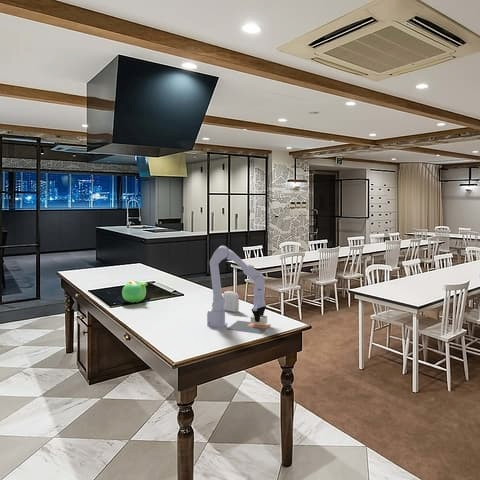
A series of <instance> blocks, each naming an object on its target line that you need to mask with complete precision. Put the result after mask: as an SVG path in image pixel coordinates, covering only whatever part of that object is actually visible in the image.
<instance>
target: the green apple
mask: <svg viewBox="0 0 480 480" xmlns="http://www.w3.org/2000/svg"><path fill="white" fill-rule="evenodd" d="M146 286H148V282H147V281H144V282H140V281H137V280H136V281H135V280H129V281H128V282H127V283H126V284H125V285H124V286H123V288H122V290H121V295H122V298H123V299H124V300H125V301H126V302H128V303H133V304H135V302H136V303H139V302H142V301H143V300H144V299H145V297H146V295H147V288H146Z"/></svg>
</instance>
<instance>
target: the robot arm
mask: <svg viewBox="0 0 480 480" xmlns="http://www.w3.org/2000/svg"><path fill="white" fill-rule="evenodd" d="M224 259H226V260H228V261H229V260H230V261H232V262H234V263H235V264H236V265H237V266H239V267H240V268H241V269H242V273H243V274H244V275H245V276H247V277H248V279H250V280H251V281H253V283H254V287H253V306H252V308H251V312H252V315H254V318H255V322H259V321H260V315H262V316H265V315H264V314H265V311H266V308H267V303H266V301H265V283H266V280H265V276H264V274H262V273H261V271H258V270H257V269H256V268H255V265H251V264H247V263H246V262H244V260H242V258H240V257H239V256H238V254H236V253H235V252H234V251H233V250H231V249H230V248H228V246H226V245H220V246H219V247H217V248H216V249H215V251H214V252H213V254H212V256H211V258H210V260H209V270H210V278H211V287H212V304H211V308H209V309H208V310H207V313H206V315H207V316H206V318H207V319H206V321H207V322H206V327H214V328H220V329H222V328H224V327H225V326H227V325H228V323H227V322H226V310H225V308H224V303H225V300H224V298H223V292H222V283H221V277H220V275H221V274H220V268H219V267H220V266H219V265H220V263H221V261H223V260H224Z"/></svg>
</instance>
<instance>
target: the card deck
mask: <svg viewBox="0 0 480 480" xmlns="http://www.w3.org/2000/svg"><path fill="white" fill-rule="evenodd" d="M250 322H251V323H254V324H262V325H265V324H268V315H263V316H262V315H260V321H259V322H255V318H254V314H252V315H251V316H250Z"/></svg>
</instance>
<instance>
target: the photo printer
mask: <svg viewBox="0 0 480 480" xmlns="http://www.w3.org/2000/svg"><path fill="white" fill-rule="evenodd" d="M222 296H223V298H224V300H225V303H224V308H225V311H227V312H232V313H238V312H239V308H240V307H239V305H240V302H239V300H240V299H239V298H240V297H239V293H237V292H235V291H232V290H228V291H224V292H223V293H222Z"/></svg>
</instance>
